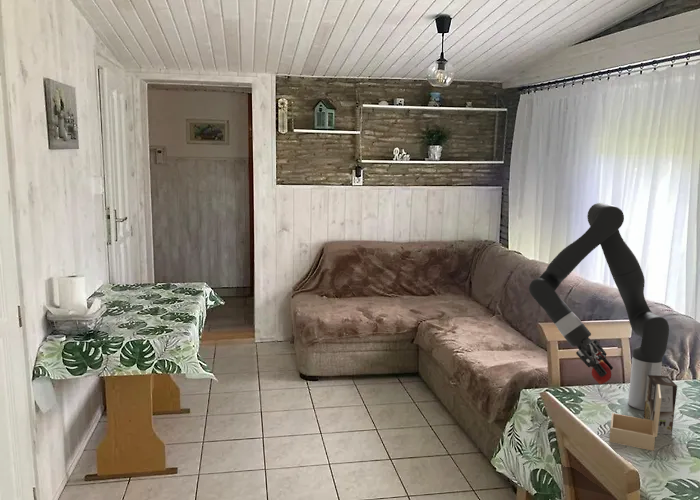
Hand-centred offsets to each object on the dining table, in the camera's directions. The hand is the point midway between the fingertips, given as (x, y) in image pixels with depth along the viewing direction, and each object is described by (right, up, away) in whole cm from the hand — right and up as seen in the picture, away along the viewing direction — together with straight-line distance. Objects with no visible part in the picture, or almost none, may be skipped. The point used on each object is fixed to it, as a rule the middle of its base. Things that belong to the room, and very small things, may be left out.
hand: (607, 372), depth 185 cm
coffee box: (+17, -18, +2) cm, 25 cm away
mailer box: (+5, -19, -6) cm, 20 cm away
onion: (-1, -4, +2) cm, 5 cm away
